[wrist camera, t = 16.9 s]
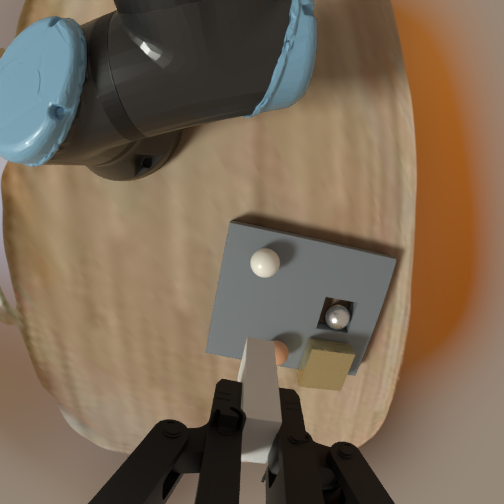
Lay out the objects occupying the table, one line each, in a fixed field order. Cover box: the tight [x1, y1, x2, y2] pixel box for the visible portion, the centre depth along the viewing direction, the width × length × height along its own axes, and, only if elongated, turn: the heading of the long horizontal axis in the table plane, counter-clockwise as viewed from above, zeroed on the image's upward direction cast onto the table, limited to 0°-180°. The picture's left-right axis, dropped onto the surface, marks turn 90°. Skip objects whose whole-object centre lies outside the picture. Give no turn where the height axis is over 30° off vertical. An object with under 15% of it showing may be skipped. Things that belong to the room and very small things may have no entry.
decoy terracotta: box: [273, 340, 289, 366], centre depth 39 cm, size 3×3×3 cm
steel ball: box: [325, 305, 350, 330], centre depth 41 cm, size 3×3×3 cm
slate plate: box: [206, 220, 397, 375], centre depth 41 cm, size 22×18×2 cm
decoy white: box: [250, 248, 280, 278], centre depth 37 cm, size 3×3×3 cm
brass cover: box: [297, 338, 355, 391], centre depth 40 cm, size 6×6×3 cm
